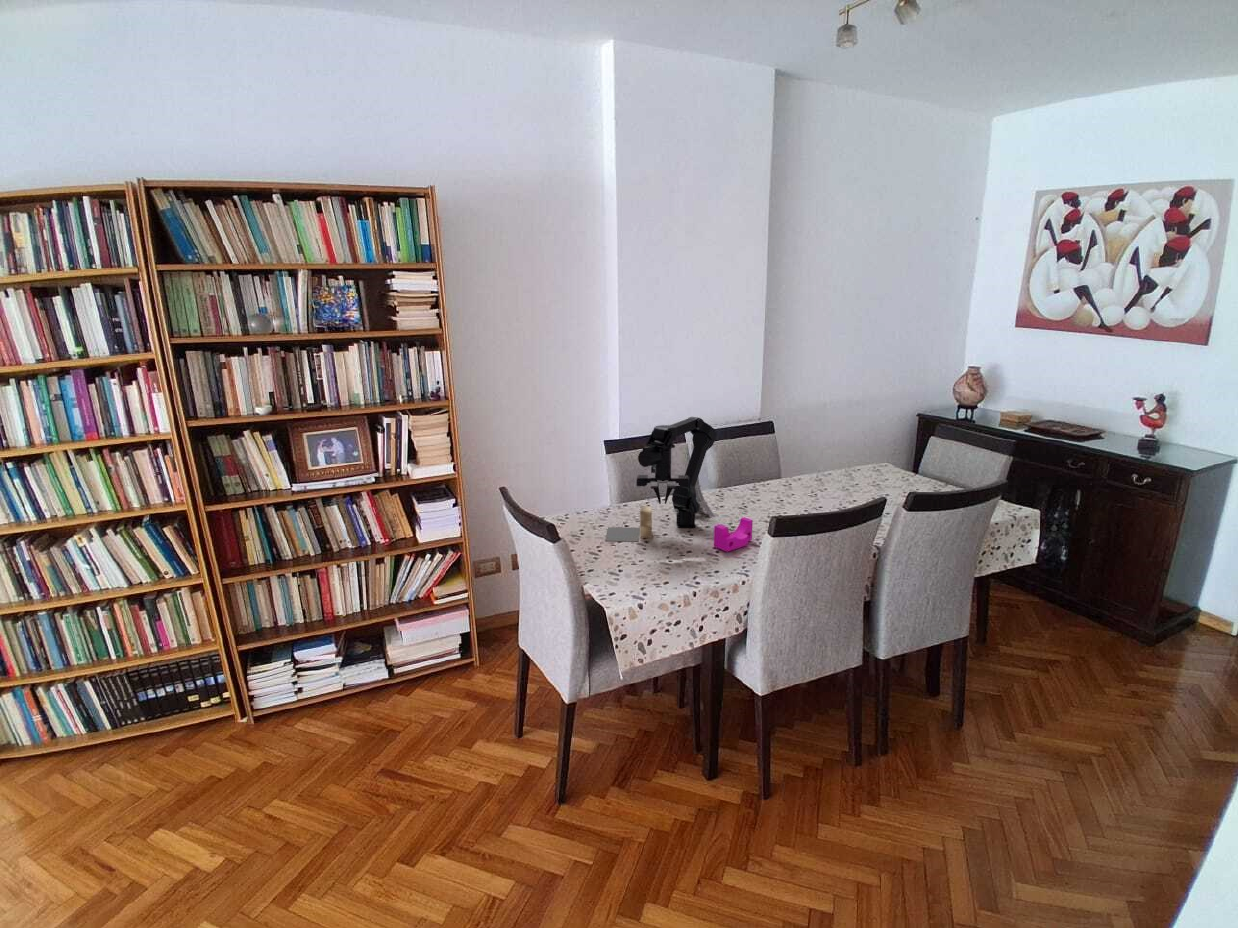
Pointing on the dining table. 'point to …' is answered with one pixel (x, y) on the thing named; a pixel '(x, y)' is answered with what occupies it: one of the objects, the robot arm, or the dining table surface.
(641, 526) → the oak block
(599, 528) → the dining table surface
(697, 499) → the eiffel tower
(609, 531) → the placemat
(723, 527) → the toy block
